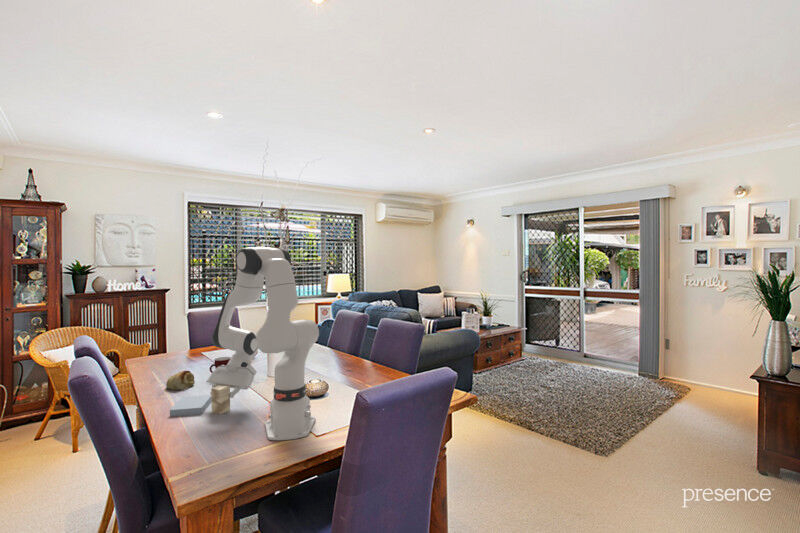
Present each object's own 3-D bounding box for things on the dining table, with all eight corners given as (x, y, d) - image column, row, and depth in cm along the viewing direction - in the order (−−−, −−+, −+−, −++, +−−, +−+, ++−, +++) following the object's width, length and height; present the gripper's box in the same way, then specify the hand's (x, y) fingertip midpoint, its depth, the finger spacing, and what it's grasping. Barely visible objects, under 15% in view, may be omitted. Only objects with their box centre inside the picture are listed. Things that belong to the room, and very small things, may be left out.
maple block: (230, 409, 168) (229, 386, 168) (221, 414, 164) (220, 389, 164) (220, 408, 170) (220, 384, 170) (211, 412, 166) (211, 388, 165)
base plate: (201, 414, 164) (201, 407, 164) (169, 417, 162) (169, 410, 162) (212, 401, 180) (212, 394, 180) (183, 403, 178) (183, 396, 178)
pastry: (193, 388, 197) (193, 372, 196) (164, 392, 192) (164, 375, 191) (195, 381, 210) (195, 365, 209) (168, 384, 205) (168, 368, 204)
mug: (210, 381, 208) (210, 362, 208) (209, 377, 215) (208, 358, 215) (232, 377, 214) (232, 359, 213) (230, 374, 221) (230, 356, 220)
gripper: (215, 360, 178) (197, 389, 169) (252, 364, 171) (236, 395, 162) (223, 368, 182) (206, 396, 173) (260, 372, 175) (244, 402, 166)
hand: (221, 396), depth 167 cm, fingers open, 8 cm apart
